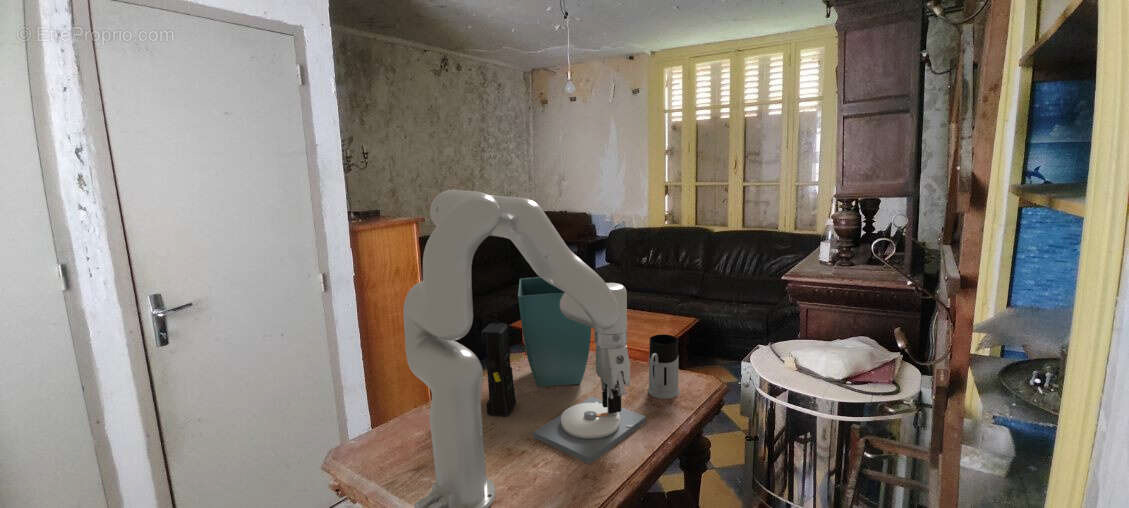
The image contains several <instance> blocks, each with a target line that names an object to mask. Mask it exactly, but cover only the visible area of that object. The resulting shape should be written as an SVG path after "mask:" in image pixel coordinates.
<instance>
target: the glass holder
mask: <svg viewBox="0 0 1129 508" xmlns="http://www.w3.org/2000/svg"><path fill="white" fill-rule="evenodd" d="M647 393H648V394H649V395H650V396H652V397H654V398H658V399H662V400H665V399H669V400H670V399H674V398H676V397H678V396H679V395H680V393H681V390H680V388H679V339H678V337H676V336H674V335H671V334H663V333H662V334H655V335H651V336H650V337H649V354H648V388H647Z"/></svg>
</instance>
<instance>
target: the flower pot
mask: <svg viewBox="0 0 1129 508" xmlns="http://www.w3.org/2000/svg"><path fill="white" fill-rule="evenodd" d="M518 283H519V284H518V292H517V298H518V305H519V314H520V321H521V329H522V338H523V344H524V348H525V353H526V356H527V361H528V364H529V367H530V371H531V374H532V375H533V379H534V382H535V383H536V386H537V387H551V386H552V387H553V386H554V387H555V386H567V385H579V384H582V382H583V379H584V375H585V372H586V368H587V364H588V359H589V355H590V347H591V338H592V337H591V336H592V327H589V326H587V325H584V324H580V323H578V322H575V321H573V320H570V319H568V318H567V317H565V316H564V315H563V314H562V312H561V310H560V300H561V298H562V296H563V295H564V293H565V292H563V291H562V290H560V289H558V288H557V287H555V286H553V285H551V284H549V283H548V282H546V281H545V280H544V279H542V278H541V277H540V276H536V277H526V278H525V277H523V278H519V282H518Z"/></svg>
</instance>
